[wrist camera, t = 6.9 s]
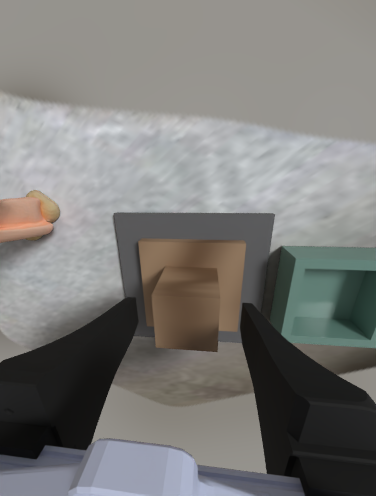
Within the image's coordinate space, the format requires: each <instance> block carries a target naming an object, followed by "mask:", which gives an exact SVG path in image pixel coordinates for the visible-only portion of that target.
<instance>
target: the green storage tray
mask: <svg viewBox="0 0 376 496" xmlns="http://www.w3.org/2000/svg"><path fill="white" fill-rule="evenodd" d="M270 321H271V324H272V326H273V327H274V328H275V329H276V330H277V331H278V332H279V333H280V334H281V335H282V336H283V337H284V338H286V339H287V340H288V341H289V342H290V343H304V344H320V345H335V346H350V347H366V348H376V248H356V247H308V246H282V249H281V255H280V261H279V267H278V273H277V279H276V285H275V291H274V297H273V303H272V309H271V315H270Z"/></svg>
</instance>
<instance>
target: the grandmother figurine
mask: <svg viewBox="0 0 376 496" xmlns="http://www.w3.org/2000/svg"><path fill="white" fill-rule="evenodd" d="M59 215H60V210H59V207H58V206H57V204H56V203H55V202H54V201H52V200H51V199H50V198H48V197H47V196H46V195H44V194H43V193H41V192H40V191H37V190H33V191H31V192H29V193H28V194H27V195H26V197H24V198H15V199H3V200H0V243H3V242H8V241H15V240H21V239H27V240H38V239H40V238H41V237H42V235H46V234H49V233H50V232H51V231H52V229H53V224H51V223H52V222H55V221H56V220H57V219H58V217H59Z"/></svg>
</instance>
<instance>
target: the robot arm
mask: <svg viewBox="0 0 376 496" xmlns="http://www.w3.org/2000/svg"><path fill="white" fill-rule="evenodd" d="M138 322H139V321H138V312H137V304H136V297H127V298H125V299H124V300H122V301H121V302H119V303H118V304H117V305H115V306H114V307H112V308H111V309H110V310H108V311H107V312H105V313H104V314H103V315H101V316H99V317H98V318H96V319H95V320H93V321H92V322H90V323H89V324H87V325H85V326H84V327H82V328H80V329H78V330H76V331H75V332H73V333H71V334H69V335H67V336H65V337H63V338H60V339H58V340H56V341H54V342H52V343H50V344H47V345H45V346H42V347H40V348H37V349H35V350H32V351H29V352H27V353H24V354H21V355H18V356H15V357H12V358H9V359H6V360H3V361H2V362H1V363H0V496H376V404H375V402H374V401H373V400H372V399H371V397H370V396H369V395H368V394H367V393H366V391H364V390H362V389H360V388H359V387H357V386H355V385H353V384H351V383H350V382H348V381H346V380H344V379H342V378H341V377H339V376H337V375H336V374H334V373H332V372H331V371H329V370H328V369H326V368H324V367H323V366H321V365H320V364H318V363H317V362H315V361H314V360H312V359H311V358H310V357H308V356H307V355H305V354H304V353H303V352H301V351H300V350H299V349H298V348H296V347H295V346H294V345H293V344H291V343H290V342H289V341H288V340H287V339H286V338H284V337H283V336H282V335H281V334H280V333H279V332H278V331H277V330H276V329H275V328H274V327H273V326H272V325H271V324H270V323H269V322H268V321H267V320H266V318H265V317H264V316H263V315H262V314H261V313H260V312H259V311H258V309H257V308H256V307H255V306H254V305H253V304H252V303H242V312H241V321H240V333H241V339H242V345H243V349H244V352H245V356H246V360H247V363H248V367H249V371H250V375H251V378H252V383H253V387H254V393H255V398H256V404H257V410H258V415H259V422H260V428H261V435H262V441H263V448H264V455H265V462H266V470H267V474H263V473H255V472H248V471H240V470H233V469H225V468H217V467H209V466H202V465H196V462H195V460H194V458H193V457H192V456H191V455H190V454H189V453H187V452H186V451H184V450H183V449H180V448H177V447H173V446H169V445H160V444H153V443H144V442H136V441H128V440H120V439H110V438H109V439H99V440H97V441H95V442H94V443H92V444H91V442H92V439H93V436H94V432H95V429H96V426H97V423H98V420H99V417H100V414H101V411H102V409H103V406H104V403H105V400H106V397H107V395H108V391H109V389H110V386H111V384H112V381H113V379H114V376H115V374H116V371H117V369H118V367H119V365H120V363H121V361H122V359H123V357H124V355H125V353H126V351H127V349H128V347H129V345H130V343H131V341H132V339H133V336H134V334H135V331H136V328H137V325H138Z"/></svg>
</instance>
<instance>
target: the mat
mask: <svg viewBox="0 0 376 496" xmlns="http://www.w3.org/2000/svg"><path fill="white" fill-rule="evenodd" d="M274 217H275V214H271V213H114V219H115V226H116V233H117V240H118V247H119V254H120V261H121V268H122V275H123V282H124V289H125V297H126V298H127V297H136V304H137V312H138V321H139V322H138V325H137V328H136V331H135V334H134V336H145V337H155V331H154V327H152V326H147V323H146V313H145V303H144V293H143V283H142V274H141V264H140V254H139V244H138V241H139V240H140V239H142V238H146V239H196V240H244V241H245V243H246V251H245V261H244V271H243V281H242V291H241V301H240V311H239V321H238V331H237V332H232V331H219V332H218V341H220V342H235V343H242V339H241V333H240V321H241V312H242V303H252V304H253V305H254V306H255V307H256V308H257V309H258V311H259V312H260V313H261V307H262V301H263V294H264V287H265V280H266V273H267V266H268V259H269V252H270V245H271V238H272V231H273V224H274Z"/></svg>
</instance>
